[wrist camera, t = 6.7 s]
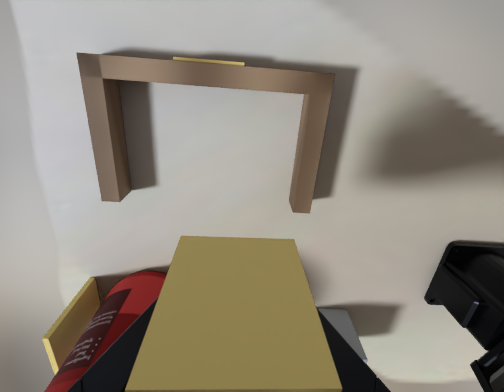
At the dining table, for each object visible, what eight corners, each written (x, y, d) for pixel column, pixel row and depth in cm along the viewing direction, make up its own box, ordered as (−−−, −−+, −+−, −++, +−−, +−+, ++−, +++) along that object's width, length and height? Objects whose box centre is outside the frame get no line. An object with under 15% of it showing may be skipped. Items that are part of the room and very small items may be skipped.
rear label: (94, 277, 23) (48, 338, 18) (103, 318, 26) (63, 384, 20) (90, 277, 23) (42, 338, 18) (99, 318, 26) (58, 384, 20)
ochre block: (294, 239, 10) (342, 388, 5) (281, 319, 11) (310, 485, 7) (181, 236, 9) (125, 390, 5) (185, 318, 11) (147, 490, 6)
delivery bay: (326, 70, 17) (335, 70, 15) (304, 201, 21) (309, 213, 19) (94, 51, 16) (75, 48, 15) (115, 189, 20) (101, 201, 18)
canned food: (200, 331, 26) (170, 487, 16) (118, 329, 26) (37, 486, 16) (197, 269, 23) (160, 415, 13) (104, 266, 23) (-6, 412, 13)
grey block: (346, 309, 26) (367, 359, 21) (337, 338, 27) (355, 391, 23) (305, 307, 25) (317, 358, 21) (298, 336, 27) (309, 389, 22)
